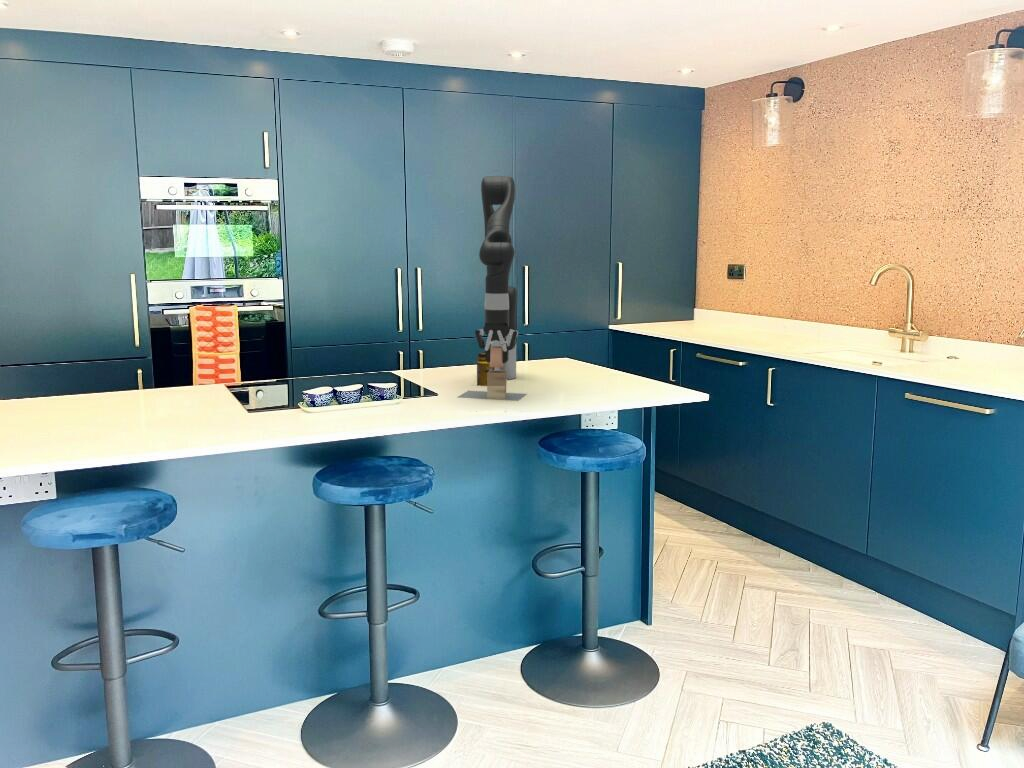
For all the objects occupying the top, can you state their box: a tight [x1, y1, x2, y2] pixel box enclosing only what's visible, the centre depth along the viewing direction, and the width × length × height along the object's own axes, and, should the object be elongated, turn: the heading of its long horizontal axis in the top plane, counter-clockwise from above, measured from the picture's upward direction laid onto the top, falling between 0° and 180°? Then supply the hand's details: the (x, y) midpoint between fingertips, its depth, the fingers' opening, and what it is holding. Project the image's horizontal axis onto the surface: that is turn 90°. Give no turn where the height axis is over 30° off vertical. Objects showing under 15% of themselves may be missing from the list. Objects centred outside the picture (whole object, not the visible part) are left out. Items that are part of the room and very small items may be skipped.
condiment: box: [471, 351, 495, 387], centre depth 285 cm, size 7×8×12 cm
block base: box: [486, 384, 507, 400], centre depth 262 cm, size 6×6×4 cm
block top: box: [486, 370, 507, 387], centre depth 262 cm, size 6×6×4 cm
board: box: [457, 390, 528, 402], centre depth 265 cm, size 12×20×1 cm, turn 75°
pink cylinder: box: [490, 346, 504, 368], centre depth 261 cm, size 4×4×6 cm
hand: (496, 362), depth 261 cm, fingers closed on pink cylinder, 4 cm apart
